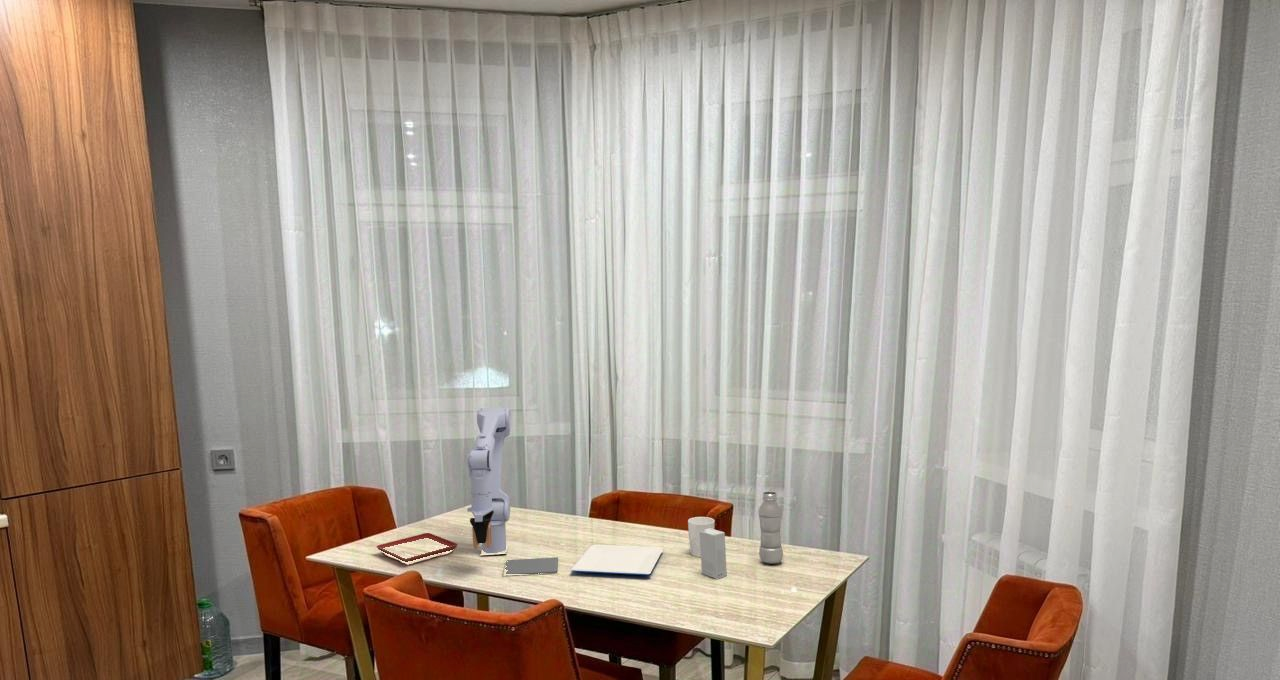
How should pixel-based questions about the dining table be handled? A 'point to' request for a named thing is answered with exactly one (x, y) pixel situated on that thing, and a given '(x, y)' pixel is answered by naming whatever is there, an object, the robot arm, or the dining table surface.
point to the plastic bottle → (770, 529)
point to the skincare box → (713, 553)
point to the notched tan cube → (488, 538)
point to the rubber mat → (532, 566)
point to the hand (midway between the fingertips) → (482, 540)
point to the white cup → (698, 532)
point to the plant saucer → (417, 537)
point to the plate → (618, 559)
